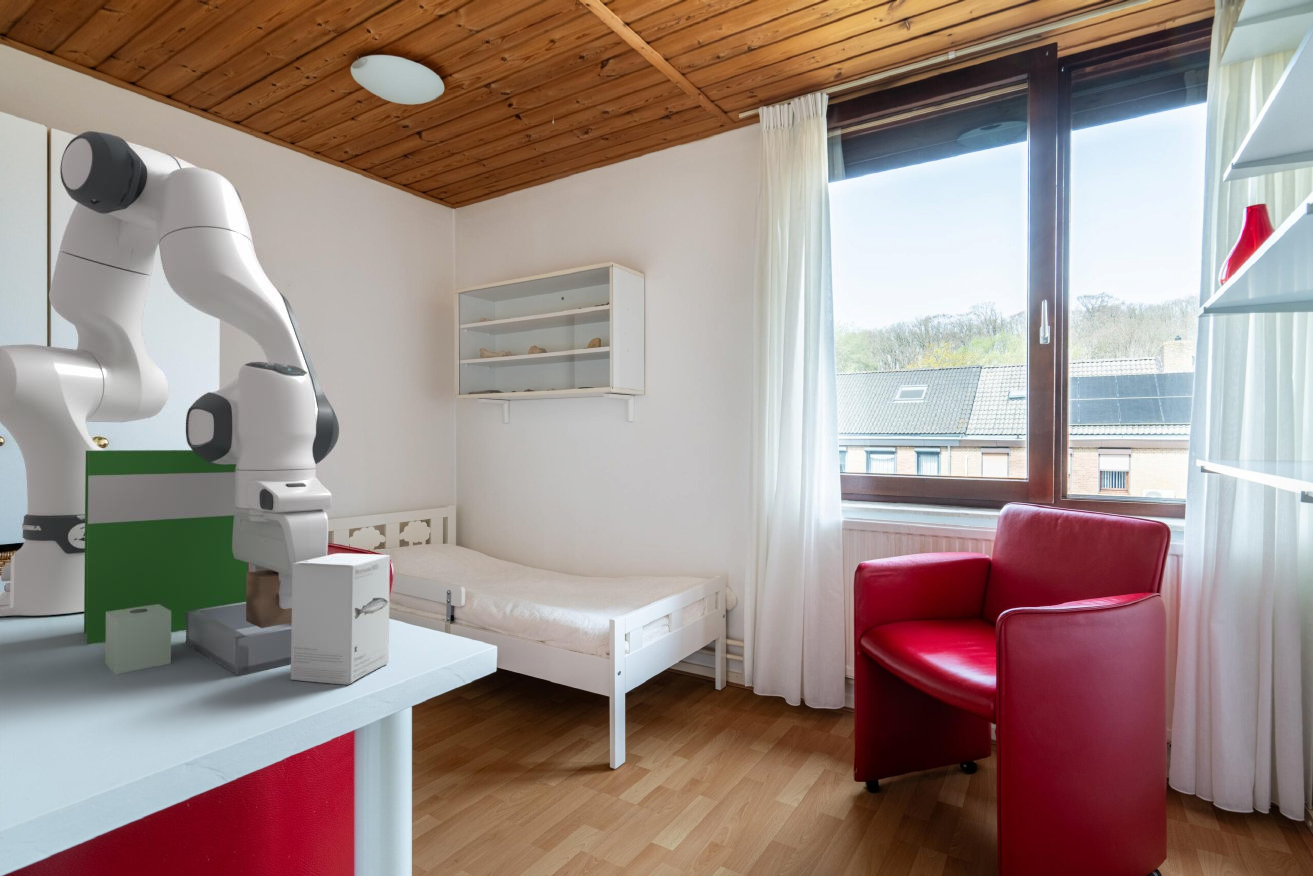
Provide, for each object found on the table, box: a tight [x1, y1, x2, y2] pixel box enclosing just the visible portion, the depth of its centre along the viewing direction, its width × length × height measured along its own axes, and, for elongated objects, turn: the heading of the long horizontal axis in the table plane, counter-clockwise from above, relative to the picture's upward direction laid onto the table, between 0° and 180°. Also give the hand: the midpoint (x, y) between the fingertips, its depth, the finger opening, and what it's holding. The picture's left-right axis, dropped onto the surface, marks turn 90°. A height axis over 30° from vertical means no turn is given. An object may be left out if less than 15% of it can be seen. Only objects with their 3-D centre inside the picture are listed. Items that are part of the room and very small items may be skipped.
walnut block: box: [246, 570, 292, 628], centre depth 86 cm, size 5×5×6 cm
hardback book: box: [83, 449, 250, 645], centre depth 95 cm, size 18×7×24 cm, turn 132°
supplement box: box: [290, 552, 391, 686], centre depth 77 cm, size 7×7×13 cm
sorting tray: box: [185, 602, 292, 677], centre depth 86 cm, size 18×14×4 cm
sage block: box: [104, 604, 172, 675], centre depth 79 cm, size 5×5×6 cm
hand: (275, 603), depth 86 cm, fingers closed on walnut block, 5 cm apart
